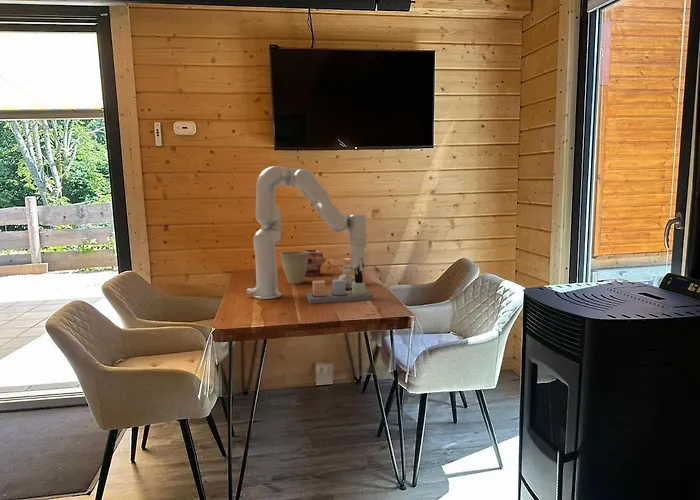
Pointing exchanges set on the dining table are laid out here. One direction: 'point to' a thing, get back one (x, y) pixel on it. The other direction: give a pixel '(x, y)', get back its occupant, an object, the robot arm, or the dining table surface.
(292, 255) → the plant pot
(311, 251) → the decorative planter
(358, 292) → the sage block
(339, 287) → the slate block
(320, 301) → the board
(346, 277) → the game die
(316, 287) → the terracotta block
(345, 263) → the supplement box
